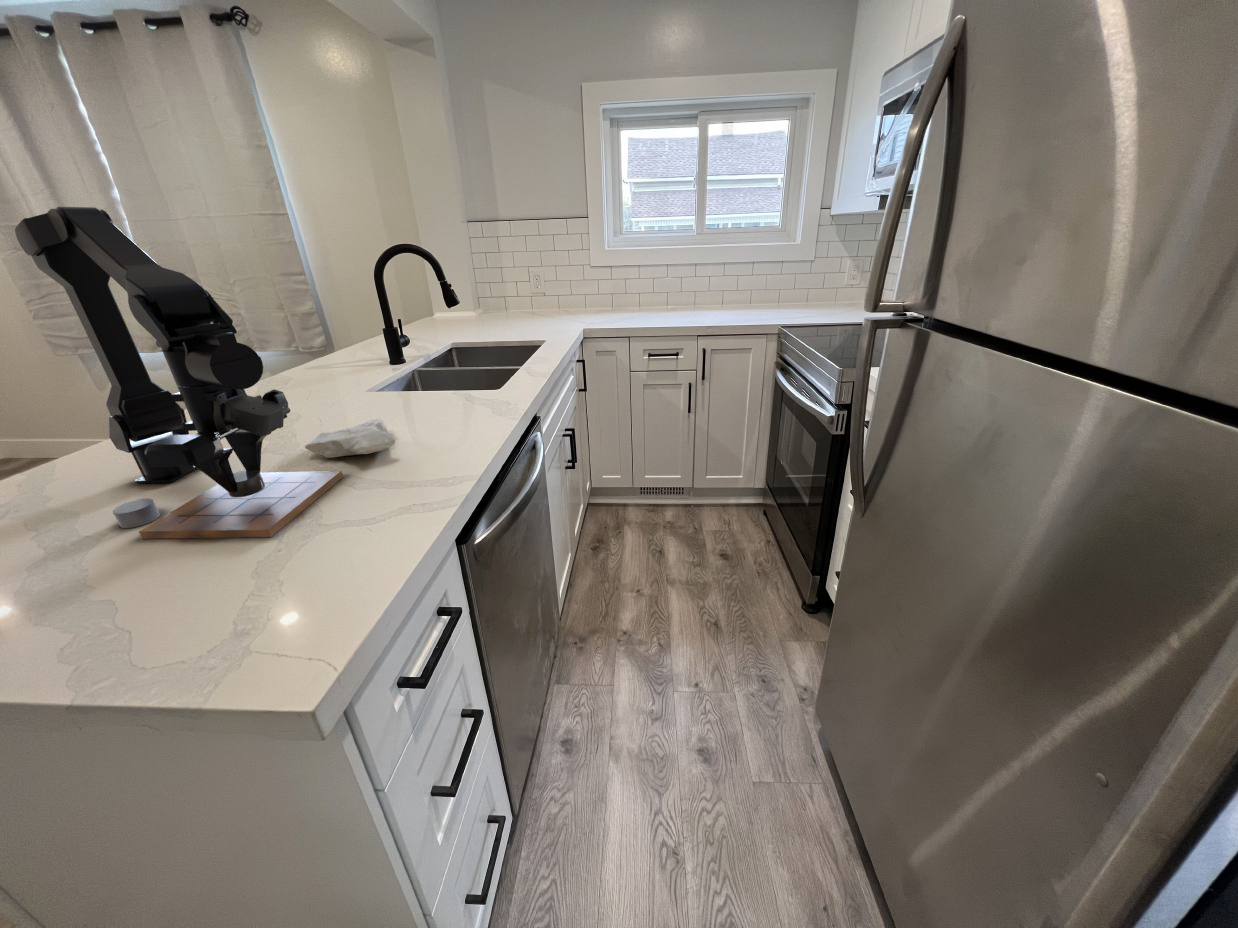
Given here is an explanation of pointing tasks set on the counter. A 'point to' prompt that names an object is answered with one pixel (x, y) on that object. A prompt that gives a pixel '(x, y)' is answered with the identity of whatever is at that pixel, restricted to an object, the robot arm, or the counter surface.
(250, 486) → the black stone
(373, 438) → the rock
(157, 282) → the robot arm
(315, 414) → the counter surface
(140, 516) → the grey stone
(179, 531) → the board
